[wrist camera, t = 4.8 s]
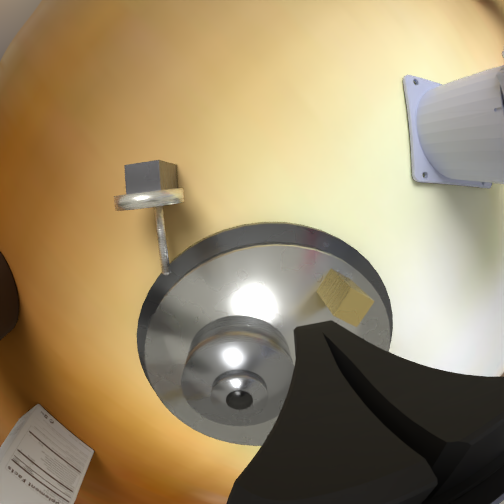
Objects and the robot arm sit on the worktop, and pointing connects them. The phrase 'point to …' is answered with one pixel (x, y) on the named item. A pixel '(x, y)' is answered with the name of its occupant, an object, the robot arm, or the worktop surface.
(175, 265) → the turntable base
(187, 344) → the turntable
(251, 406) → the cover
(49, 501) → the supplement box
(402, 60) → the worktop surface
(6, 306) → the olive oil
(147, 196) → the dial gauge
